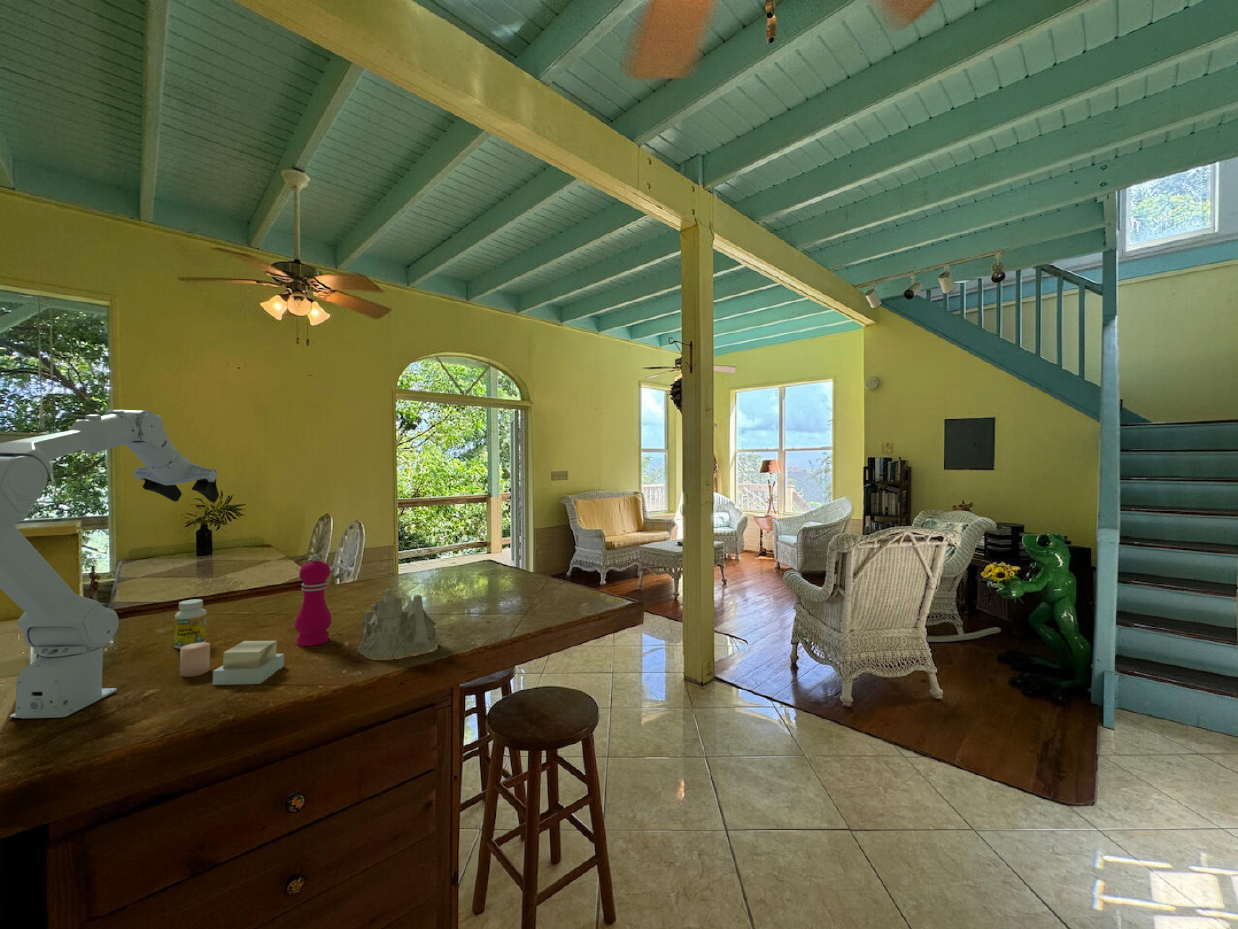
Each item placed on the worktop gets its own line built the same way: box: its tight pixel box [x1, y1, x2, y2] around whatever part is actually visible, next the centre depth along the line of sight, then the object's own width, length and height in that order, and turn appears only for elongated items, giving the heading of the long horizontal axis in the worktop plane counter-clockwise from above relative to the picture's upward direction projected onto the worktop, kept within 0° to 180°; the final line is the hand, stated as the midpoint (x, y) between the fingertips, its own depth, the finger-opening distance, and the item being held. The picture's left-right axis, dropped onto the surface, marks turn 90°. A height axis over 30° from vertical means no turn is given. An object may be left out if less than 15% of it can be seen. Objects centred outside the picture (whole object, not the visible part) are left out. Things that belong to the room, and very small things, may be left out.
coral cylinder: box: [179, 642, 211, 678], centre depth 96 cm, size 4×4×5 cm
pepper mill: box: [294, 554, 332, 647], centre depth 114 cm, size 7×7×20 cm
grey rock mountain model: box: [357, 587, 439, 658], centre depth 113 cm, size 16×16×15 cm
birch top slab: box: [222, 640, 278, 669], centre depth 96 cm, size 6×6×3 cm
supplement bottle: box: [173, 598, 207, 650], centre depth 110 cm, size 5×5×10 cm
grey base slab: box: [212, 653, 285, 686], centre depth 96 cm, size 8×8×3 cm
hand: (196, 498), depth 111 cm, fingers open, 7 cm apart
